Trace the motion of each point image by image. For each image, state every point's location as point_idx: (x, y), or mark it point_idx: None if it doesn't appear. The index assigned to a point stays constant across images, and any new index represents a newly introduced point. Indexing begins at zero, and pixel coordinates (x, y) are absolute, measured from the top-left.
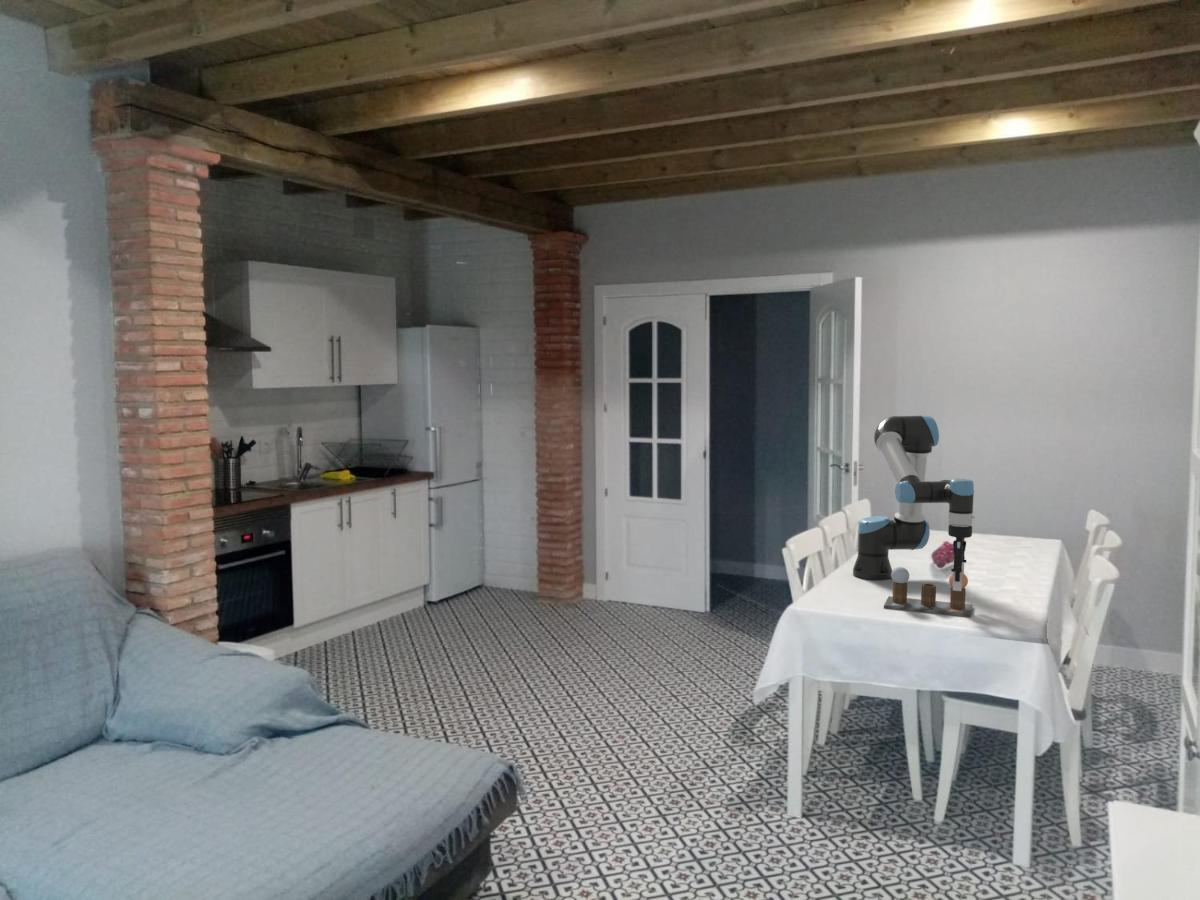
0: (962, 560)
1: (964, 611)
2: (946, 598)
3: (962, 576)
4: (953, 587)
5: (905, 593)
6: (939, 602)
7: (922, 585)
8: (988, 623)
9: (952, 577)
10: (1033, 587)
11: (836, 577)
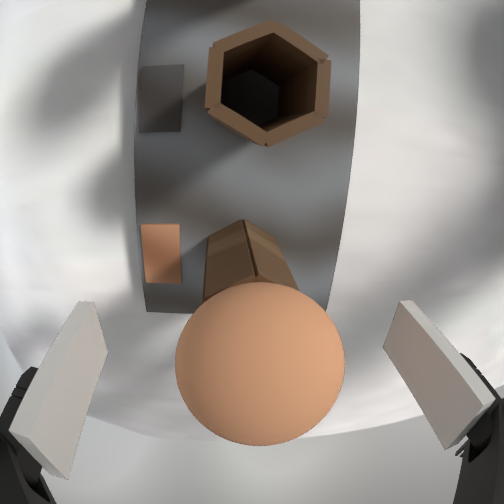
0: (468, 457)
1: (183, 287)
2: (444, 199)
3: (212, 431)
4: (71, 320)
5: None
6: (327, 162)
7: (251, 27)
8: (110, 353)
9: (202, 355)
10: (493, 378)
11: None
